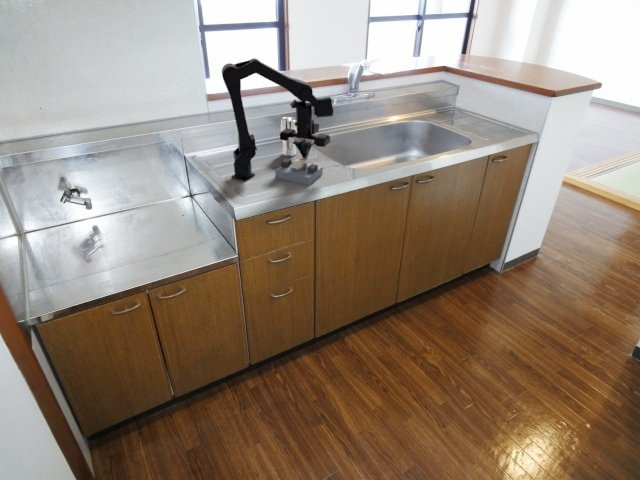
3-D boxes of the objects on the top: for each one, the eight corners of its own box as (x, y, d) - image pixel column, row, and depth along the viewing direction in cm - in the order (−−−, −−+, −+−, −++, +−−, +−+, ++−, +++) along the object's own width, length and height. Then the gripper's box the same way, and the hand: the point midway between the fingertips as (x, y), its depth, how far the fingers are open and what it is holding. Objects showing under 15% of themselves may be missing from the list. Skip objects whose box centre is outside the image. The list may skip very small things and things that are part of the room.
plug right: (312, 173, 156) (312, 168, 155) (307, 172, 157) (307, 167, 156) (317, 170, 159) (317, 165, 158) (311, 168, 160) (312, 163, 159)
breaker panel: (308, 185, 155) (308, 172, 152) (275, 177, 160) (274, 164, 157) (322, 174, 164) (322, 161, 161) (290, 167, 169) (290, 154, 166)
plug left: (286, 168, 160) (286, 163, 159) (281, 166, 161) (280, 161, 160) (291, 164, 163) (291, 159, 162) (286, 163, 164) (286, 158, 163)
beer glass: (298, 151, 184) (298, 117, 177) (296, 157, 179) (296, 121, 171) (282, 150, 185) (282, 116, 177) (279, 156, 179) (279, 120, 171)
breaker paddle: (298, 169, 156) (298, 166, 155) (290, 167, 157) (289, 164, 156) (308, 160, 162) (308, 158, 161) (300, 159, 163) (300, 156, 162)
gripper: (336, 115, 156) (336, 155, 165) (292, 109, 163) (293, 147, 172) (323, 124, 148) (324, 166, 157) (277, 117, 155) (280, 157, 164)
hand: (305, 158), depth 163 cm, fingers closed, pressing on breaker paddle
